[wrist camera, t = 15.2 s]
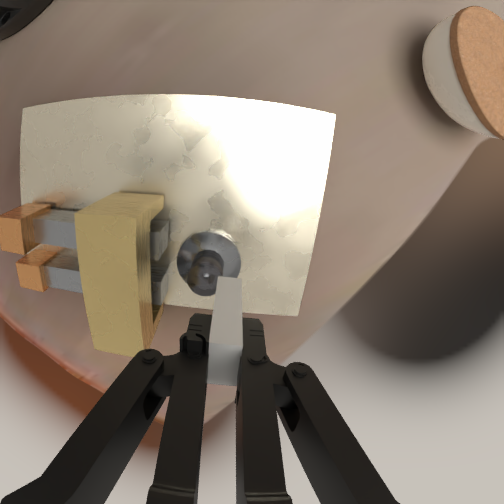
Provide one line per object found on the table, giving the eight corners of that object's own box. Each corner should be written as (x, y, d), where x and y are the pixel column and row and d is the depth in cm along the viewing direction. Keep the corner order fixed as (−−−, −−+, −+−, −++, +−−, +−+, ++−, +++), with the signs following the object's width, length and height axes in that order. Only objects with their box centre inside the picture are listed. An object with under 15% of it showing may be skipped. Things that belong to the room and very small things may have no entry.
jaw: (169, 215, 21) (153, 234, 17) (167, 250, 22) (152, 276, 18) (27, 202, 20) (-3, 216, 15) (29, 232, 21) (1, 250, 16)
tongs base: (333, 114, 19) (352, 110, 16) (296, 313, 25) (304, 340, 22) (26, 108, 17) (-1, 108, 13) (35, 279, 23) (14, 298, 20)
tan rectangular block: (163, 195, 20) (135, 217, 14) (163, 311, 24) (145, 359, 18) (114, 192, 20) (74, 213, 14) (120, 305, 24) (94, 349, 18)
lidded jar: (453, 158, 20) (528, 177, 12) (379, 66, 18) (450, 39, 9) (495, 93, 18) (561, 96, 9) (433, 9, 15) (495, -17, 6)
